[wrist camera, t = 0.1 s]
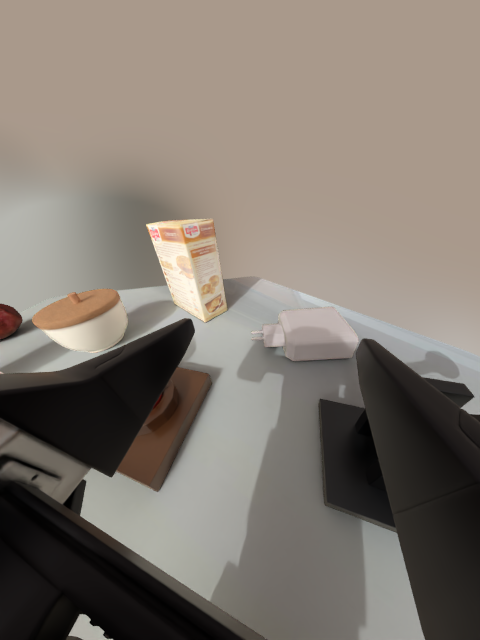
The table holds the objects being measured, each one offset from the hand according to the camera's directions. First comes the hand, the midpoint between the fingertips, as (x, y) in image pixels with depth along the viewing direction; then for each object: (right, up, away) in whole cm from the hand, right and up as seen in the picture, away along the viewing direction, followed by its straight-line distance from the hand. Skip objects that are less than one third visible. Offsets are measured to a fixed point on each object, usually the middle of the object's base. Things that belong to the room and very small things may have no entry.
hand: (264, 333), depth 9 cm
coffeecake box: (-12, +4, +35) cm, 37 cm away
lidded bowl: (-30, -4, +27) cm, 41 cm away
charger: (+8, -4, +21) cm, 23 cm away
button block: (-12, -12, +13) cm, 21 cm away
